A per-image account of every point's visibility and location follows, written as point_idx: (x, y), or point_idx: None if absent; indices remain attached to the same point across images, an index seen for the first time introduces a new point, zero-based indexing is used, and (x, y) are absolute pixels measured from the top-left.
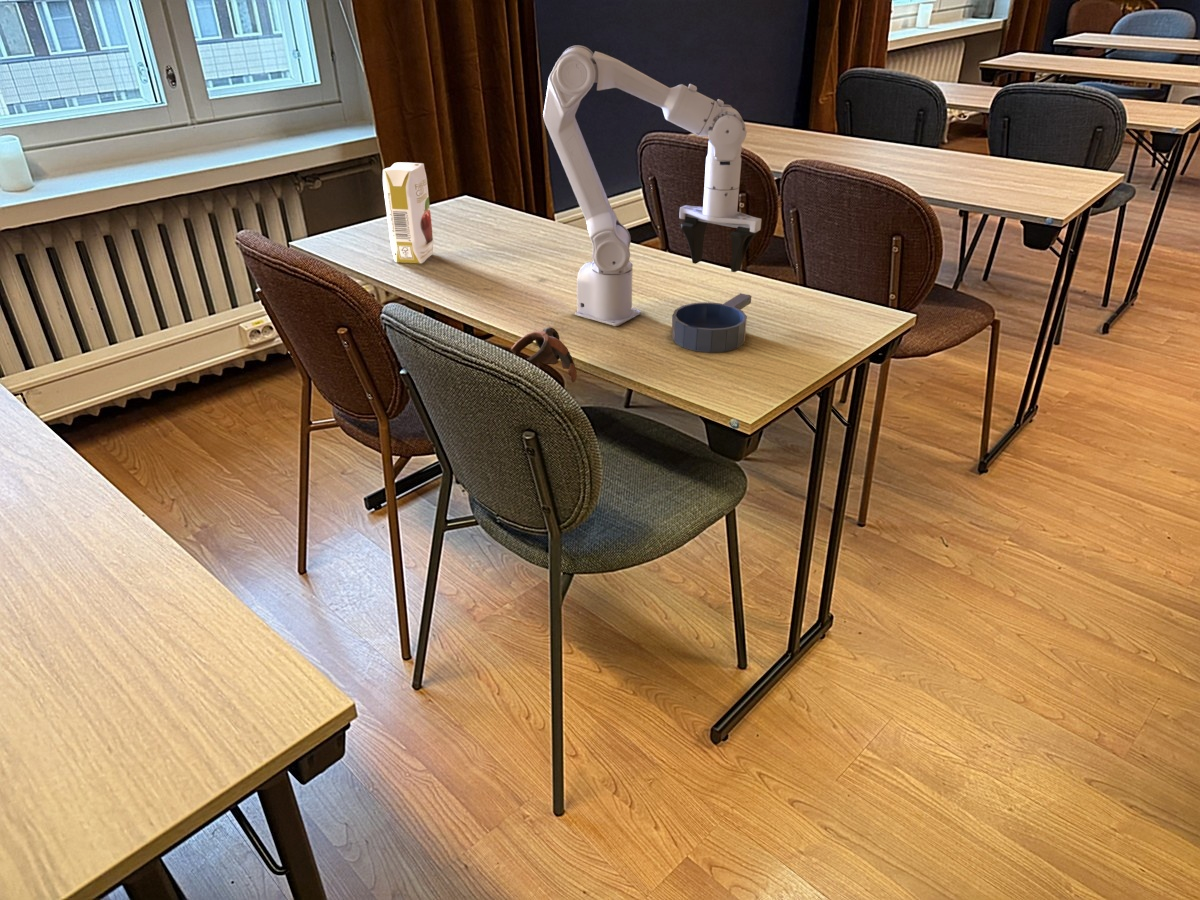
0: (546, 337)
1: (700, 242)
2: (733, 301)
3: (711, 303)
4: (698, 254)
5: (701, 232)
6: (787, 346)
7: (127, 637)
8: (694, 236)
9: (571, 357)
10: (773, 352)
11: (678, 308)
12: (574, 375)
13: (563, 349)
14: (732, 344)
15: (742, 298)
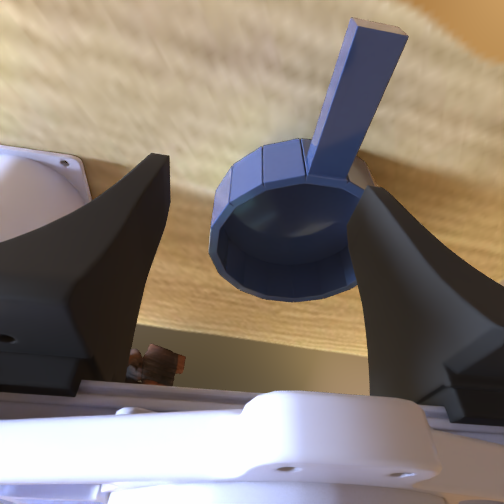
0: None
1: (140, 234)
2: (341, 133)
3: (278, 185)
4: (161, 209)
5: (121, 277)
6: (482, 186)
7: None
8: (133, 324)
9: (171, 379)
10: (442, 221)
11: (212, 244)
12: (182, 362)
13: None
14: None
15: (371, 88)
